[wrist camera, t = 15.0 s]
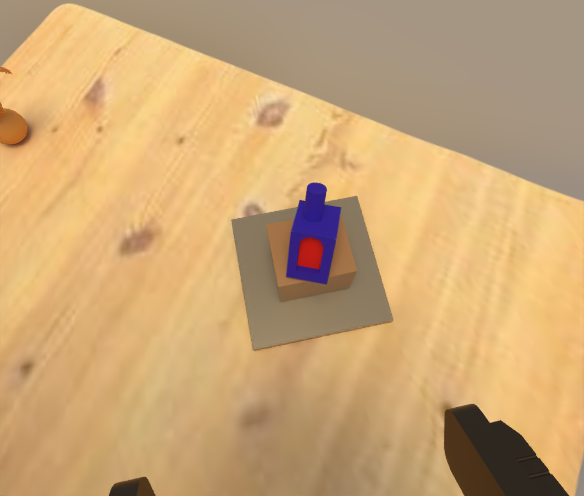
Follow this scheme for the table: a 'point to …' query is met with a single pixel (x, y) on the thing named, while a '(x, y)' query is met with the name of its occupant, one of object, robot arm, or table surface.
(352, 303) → the plate
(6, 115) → the figurine
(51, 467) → the table surface
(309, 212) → the toy building block
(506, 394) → the table surface
